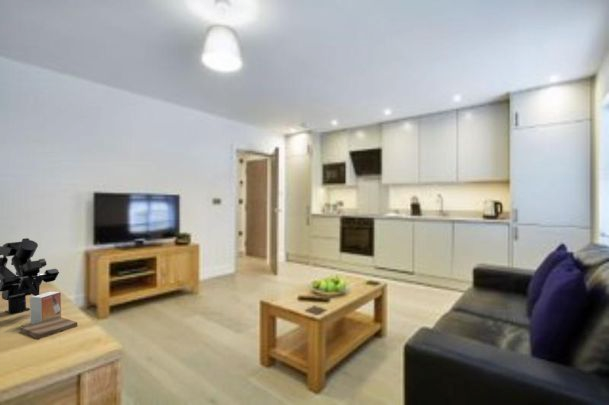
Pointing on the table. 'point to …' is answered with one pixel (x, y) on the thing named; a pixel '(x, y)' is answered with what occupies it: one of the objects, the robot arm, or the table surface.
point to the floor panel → (48, 327)
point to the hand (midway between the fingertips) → (37, 295)
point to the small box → (45, 306)
